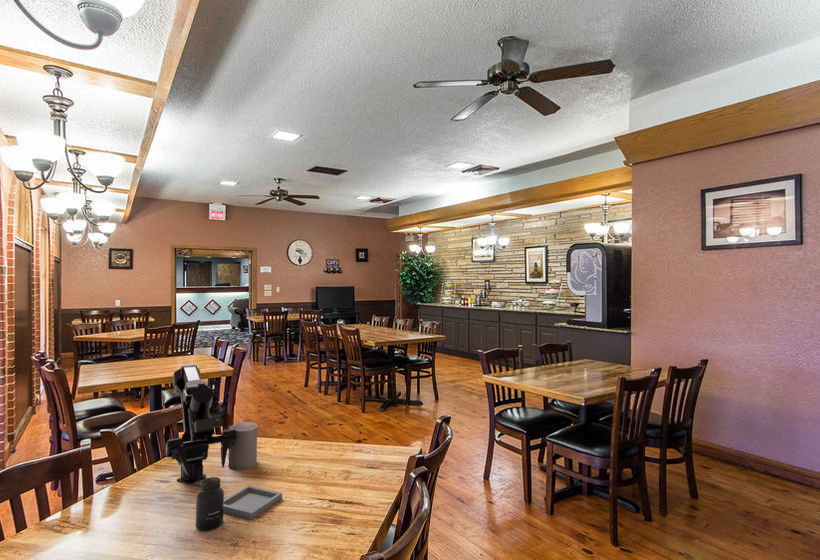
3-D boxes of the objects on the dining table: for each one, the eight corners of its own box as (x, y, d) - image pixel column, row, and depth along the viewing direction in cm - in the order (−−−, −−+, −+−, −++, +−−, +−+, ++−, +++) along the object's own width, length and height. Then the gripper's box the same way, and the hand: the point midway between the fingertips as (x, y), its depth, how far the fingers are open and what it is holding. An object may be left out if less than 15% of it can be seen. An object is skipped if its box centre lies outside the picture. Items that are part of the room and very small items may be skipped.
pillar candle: (222, 467, 158) (222, 424, 158) (242, 457, 167) (242, 417, 167) (243, 472, 155) (244, 428, 155) (262, 461, 164) (263, 420, 164)
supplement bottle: (213, 533, 117) (213, 487, 117) (189, 530, 118) (190, 484, 118) (228, 520, 123) (229, 476, 123) (206, 517, 125) (207, 474, 125)
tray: (215, 510, 128) (216, 504, 128) (248, 491, 140) (248, 485, 140) (251, 519, 123) (251, 513, 123) (282, 498, 135) (282, 493, 135)
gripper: (167, 411, 126) (170, 464, 116) (236, 401, 136) (245, 449, 127) (164, 431, 132) (167, 483, 123) (230, 421, 142) (238, 468, 133)
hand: (205, 470), depth 126 cm, fingers open, 9 cm apart
